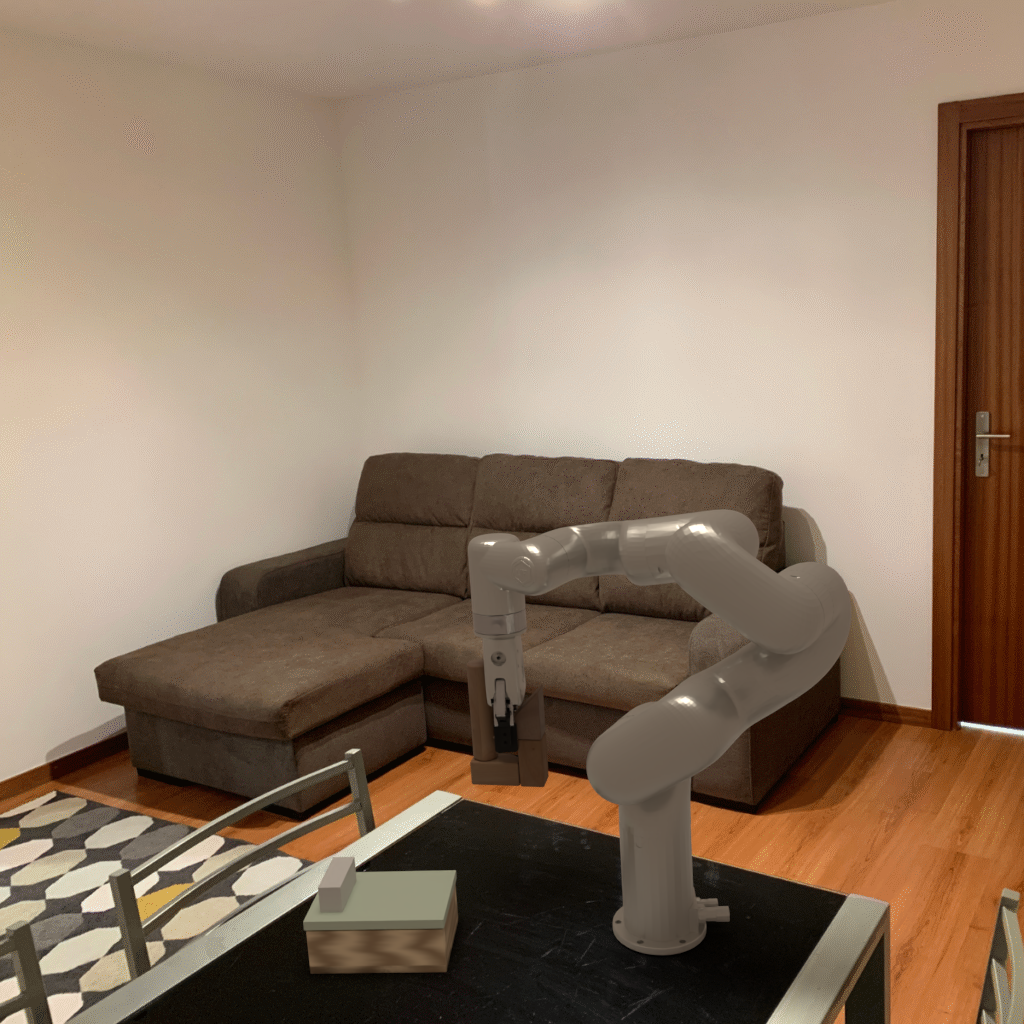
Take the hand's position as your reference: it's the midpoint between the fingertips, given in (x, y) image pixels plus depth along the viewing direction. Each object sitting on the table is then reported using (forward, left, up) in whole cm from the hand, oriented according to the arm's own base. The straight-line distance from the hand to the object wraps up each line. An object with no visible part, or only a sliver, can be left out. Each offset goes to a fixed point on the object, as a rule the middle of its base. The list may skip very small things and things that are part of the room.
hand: (508, 743), depth 146 cm
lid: (+17, +13, -17) cm, 27 cm away
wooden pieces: (0, 0, -6) cm, 6 cm away
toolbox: (+17, +13, -23) cm, 32 cm away
